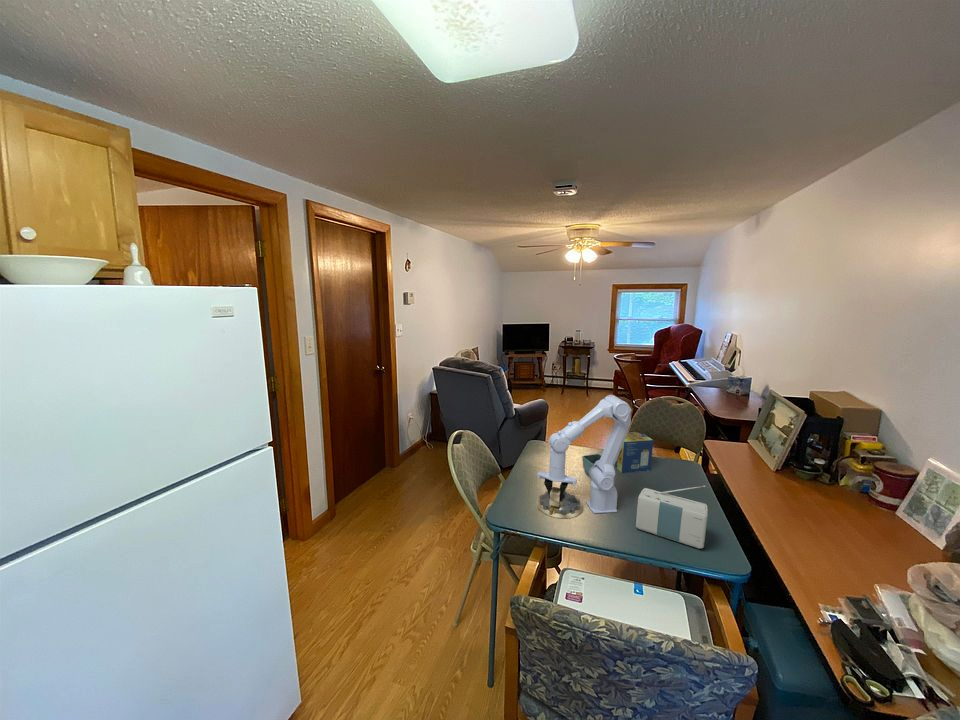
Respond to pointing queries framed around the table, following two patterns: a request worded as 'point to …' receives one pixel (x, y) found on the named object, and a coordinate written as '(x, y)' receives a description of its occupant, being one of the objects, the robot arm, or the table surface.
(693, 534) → the stereo radio cassette player
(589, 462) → the flower pot
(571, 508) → the sprocket
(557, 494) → the link block
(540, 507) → the sprocket base
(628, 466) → the protein box
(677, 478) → the table surface
